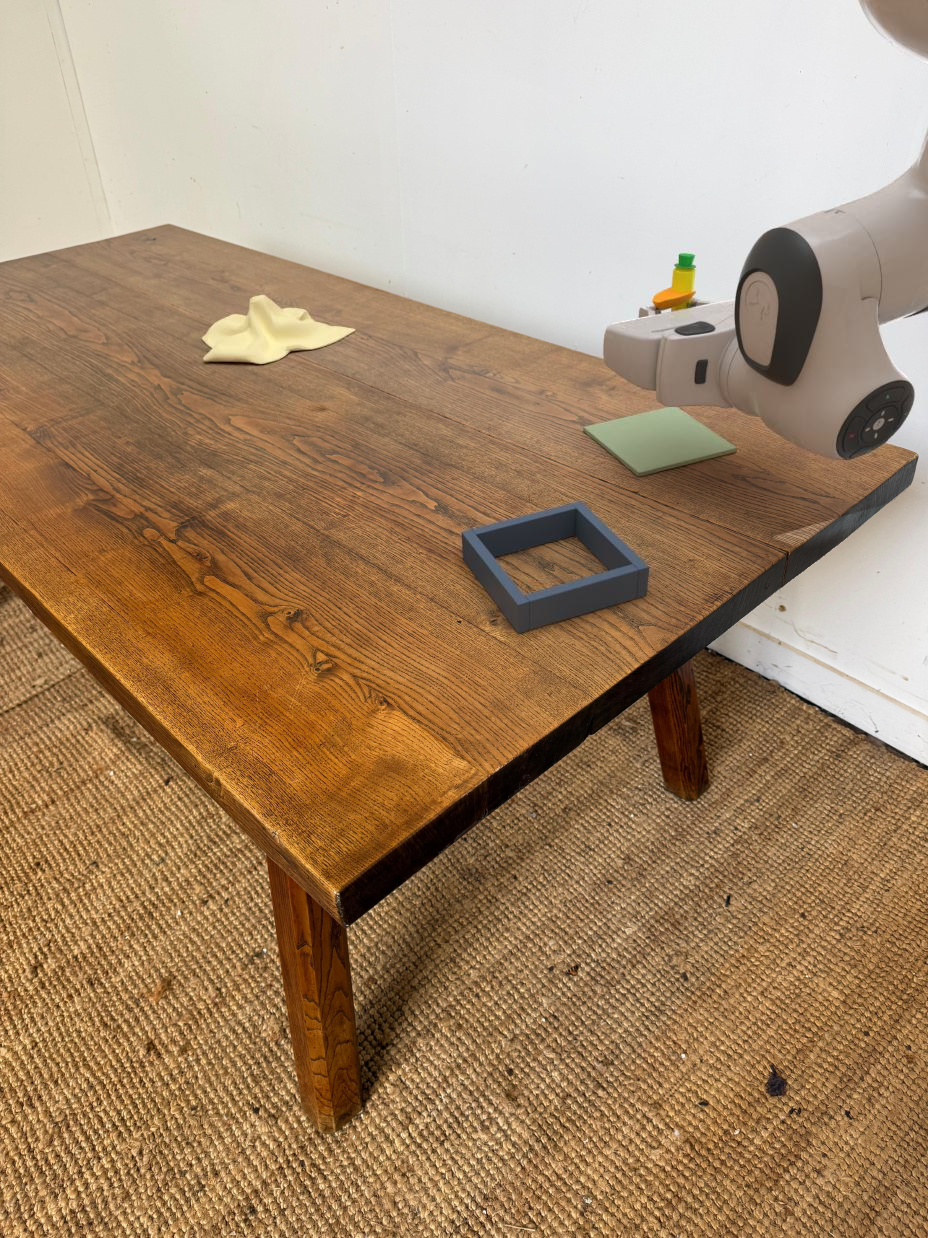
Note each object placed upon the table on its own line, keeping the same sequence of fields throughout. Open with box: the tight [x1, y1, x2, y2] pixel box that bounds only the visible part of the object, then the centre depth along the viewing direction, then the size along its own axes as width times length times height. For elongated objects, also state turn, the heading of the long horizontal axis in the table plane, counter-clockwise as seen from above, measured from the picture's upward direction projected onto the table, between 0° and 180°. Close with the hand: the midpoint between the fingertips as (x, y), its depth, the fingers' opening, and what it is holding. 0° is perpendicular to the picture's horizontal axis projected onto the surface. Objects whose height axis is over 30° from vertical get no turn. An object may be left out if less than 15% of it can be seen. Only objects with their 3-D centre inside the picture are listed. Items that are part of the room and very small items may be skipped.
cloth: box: [201, 294, 356, 365], centre depth 126 cm, size 22×19×6 cm
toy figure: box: [651, 252, 697, 312], centre depth 89 cm, size 7×4×12 cm, turn 131°
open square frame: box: [460, 500, 650, 635], centre depth 76 cm, size 12×12×3 cm
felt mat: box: [582, 406, 738, 477], centre depth 96 cm, size 12×12×1 cm
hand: (664, 309), depth 89 cm, fingers closed on toy figure, 3 cm apart
